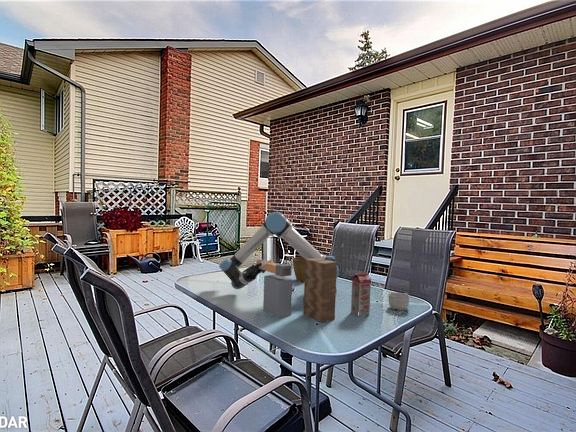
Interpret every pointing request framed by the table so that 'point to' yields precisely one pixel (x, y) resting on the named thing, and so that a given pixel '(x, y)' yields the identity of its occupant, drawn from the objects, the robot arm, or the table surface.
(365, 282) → the juice carton
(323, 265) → the walnut stand
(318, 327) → the table surface
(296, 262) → the plant pot
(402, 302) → the teacup
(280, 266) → the brown block
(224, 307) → the table surface
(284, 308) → the grey stand
